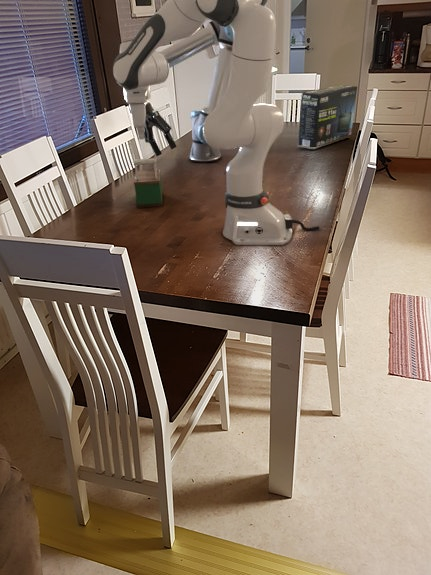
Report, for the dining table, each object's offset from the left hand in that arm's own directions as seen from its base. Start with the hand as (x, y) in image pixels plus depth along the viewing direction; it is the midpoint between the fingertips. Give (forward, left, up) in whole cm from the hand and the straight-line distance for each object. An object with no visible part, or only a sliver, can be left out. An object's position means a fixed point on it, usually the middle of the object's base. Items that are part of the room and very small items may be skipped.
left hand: (166, 151), depth 201 cm
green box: (+32, +7, -10) cm, 34 cm away
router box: (-71, +59, -10) cm, 93 cm away
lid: (+32, +7, -1) cm, 33 cm away
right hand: (+36, +9, +15) cm, 40 cm away
